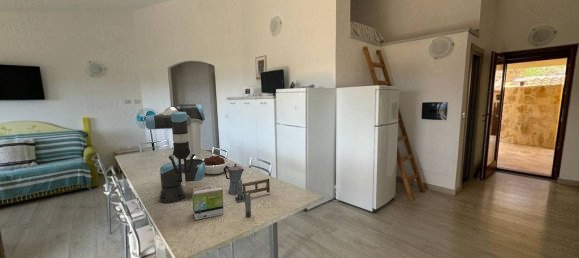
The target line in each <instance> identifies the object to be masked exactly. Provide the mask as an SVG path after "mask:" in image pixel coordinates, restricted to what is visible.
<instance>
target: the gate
mask: <svg viewBox="0 0 579 258" xmlns="http://www.w3.org/2000/svg"><path fill="white" fill-rule="evenodd" d="M260 184H266V185H265V187H260V188H258V185H260ZM249 186H254V188H255V189H251V190H246V187H249ZM270 187H271V185H270V179H269V178H265V179H260V180H259V179H258V180H255V181H250V182H244V183H243V182H242V192H243V197H244V198H245V193H246V192H250V195H252V194H255V193H261V192H265V191H266V193H270V191H271V189H270Z"/></svg>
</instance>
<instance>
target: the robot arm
mask: <svg viewBox="0 0 579 258" xmlns="http://www.w3.org/2000/svg"><path fill="white" fill-rule="evenodd" d="M204 111H205V110H204V106H203V104H200V103H189V104H187V103H185V104H183V103H182V104H175V105H171V106H169V107H167V108H165V109H164V111H163V112H160V113H158V114H154V115H153V114H152V115H146V117H145V120H144V121H145V127H146V128H147V129H148V130H163V129H164V130H166V129H167V130H168V129H169V130H170V129H172V130H171V132H172V142H173V143H172V145H173V147H172V148H173V152H172V154H170V155H168V159H169V160H170V161H171V162H166V163H165V164H162V165H161V166H159V167H160V168H159V175H160V176H159V177H160V188H161V190H160V192H159V193H160V194H159V197H158V200H159V203H162V204H171V203H177V202H179V201H181V200H184V199H185V198H186V193H185V191H184V188H183V187H185V186H186V183H188V182H199V181H202V180H203V179H204V177H205V174H206V173H205V163H204V162H203V161H204V159H202V158H201V125H203V123H204V122H203V121H205V120H206V117H205V116H206V115H205V112H204ZM174 158H175V159H177V160H178V161H175V159H174ZM182 160H183V163H182Z"/></svg>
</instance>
